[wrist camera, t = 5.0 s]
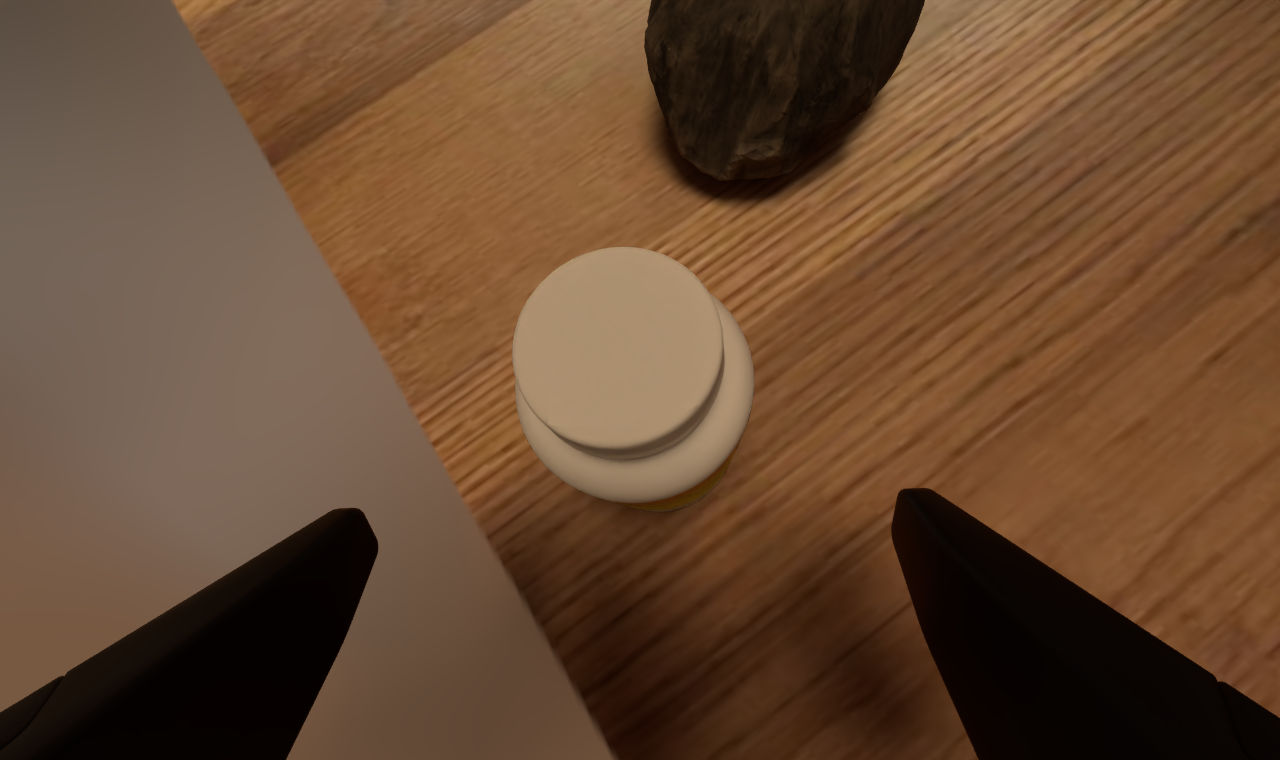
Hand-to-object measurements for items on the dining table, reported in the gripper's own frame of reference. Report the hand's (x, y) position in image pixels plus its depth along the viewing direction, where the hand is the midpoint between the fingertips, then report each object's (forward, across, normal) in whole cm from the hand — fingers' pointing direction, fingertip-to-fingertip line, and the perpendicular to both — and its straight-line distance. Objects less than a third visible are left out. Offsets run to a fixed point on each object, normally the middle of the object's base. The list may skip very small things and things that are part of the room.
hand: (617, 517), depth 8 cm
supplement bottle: (+9, 0, +5) cm, 11 cm away
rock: (+20, -6, -6) cm, 22 cm away
